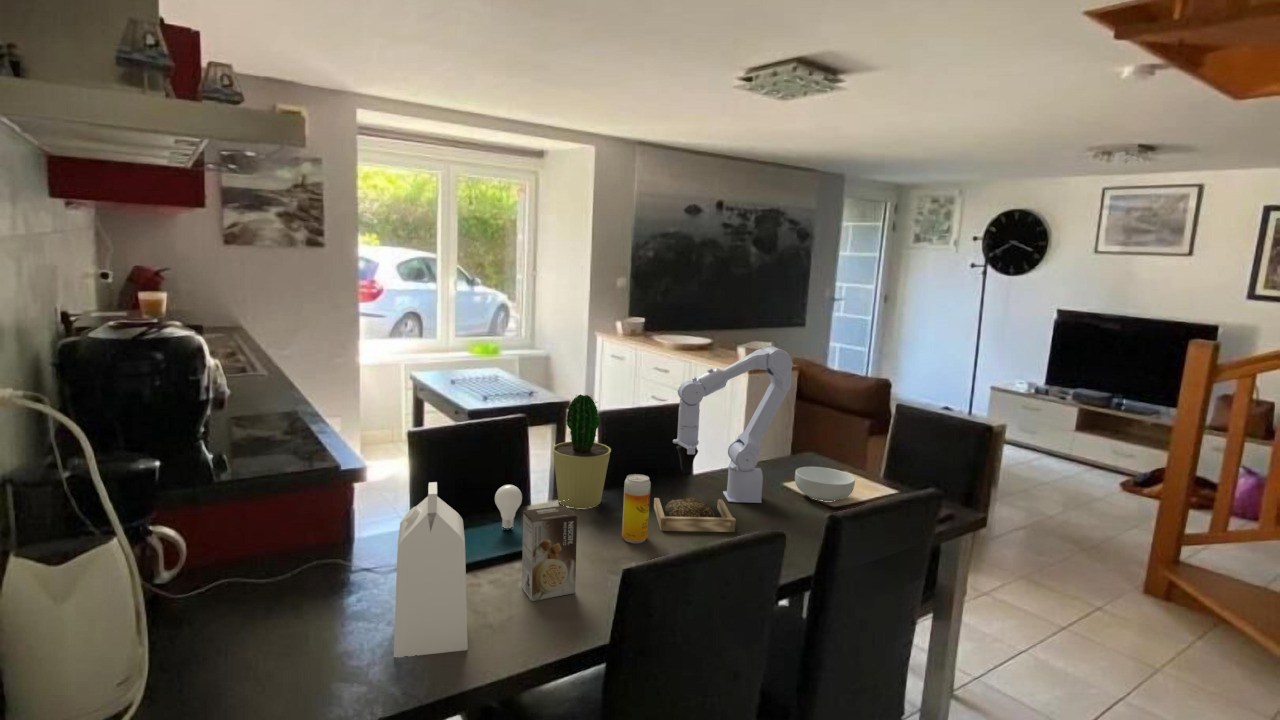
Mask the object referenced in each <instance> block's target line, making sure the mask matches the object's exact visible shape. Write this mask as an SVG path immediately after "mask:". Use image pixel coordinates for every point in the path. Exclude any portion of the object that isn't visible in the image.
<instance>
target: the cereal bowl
mask: <svg viewBox="0 0 1280 720" xmlns="http://www.w3.org/2000/svg"><path fill="white" fill-rule="evenodd" d="M794 474H795V475H794V482H795V485H796V487H797V489H798V490H799V491H800V492H801V493H803V494H804V495H806V496H809V497H811V498H814V499H817V500H823V501H834V500H836V501H841V500H843V499H847V497H849V496H850V495H851V494H853V491H854V489H855V483H856V479H855V477H854V476H853V475H852V474H850V473H848V472H845V471H843V470H838V469H836V468H835V469H834V468H829V467H821V466H802V467H798V468H796V469H795V473H794ZM811 498H810V499H811Z"/></svg>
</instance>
